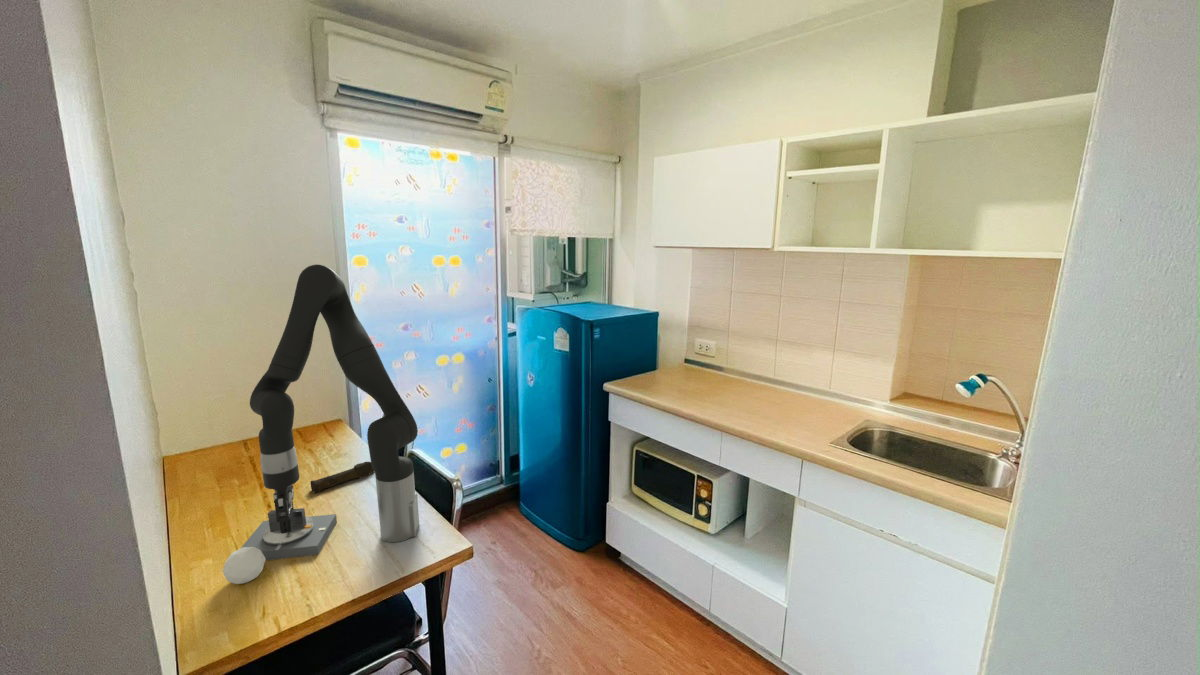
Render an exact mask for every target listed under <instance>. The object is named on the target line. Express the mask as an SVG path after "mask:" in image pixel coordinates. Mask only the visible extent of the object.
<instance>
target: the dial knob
mask: <svg viewBox="0 0 1200 675" xmlns="http://www.w3.org/2000/svg"><path fill="white" fill-rule="evenodd" d="M285 514H286V512H282V513H281V515H285ZM290 515H291V517H290V521H291V528H292V529H291V531H290V532H288V533H283V534H282V533H281V530H280V523H279V522H277V521H276V519H277V518H276V510H275V509H273V510H270V511H268V513H267V518H268V520H269V527H268V528H267V529H266V530H265V531H264V533H263V540H264V542H265V543H266V544H269V545H283V544H288V543H292V542H294V541H297V540H299V539H301V538H303V537H305V536H306V535H307V534H309V533H310V532H311V531H312V529H313V527H314V524H313V520H312V519H311V518H309V517H310V516H307V515H306V510H305V508H304V507H303V508H301V507H300V508H294V509H290Z"/></svg>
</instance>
